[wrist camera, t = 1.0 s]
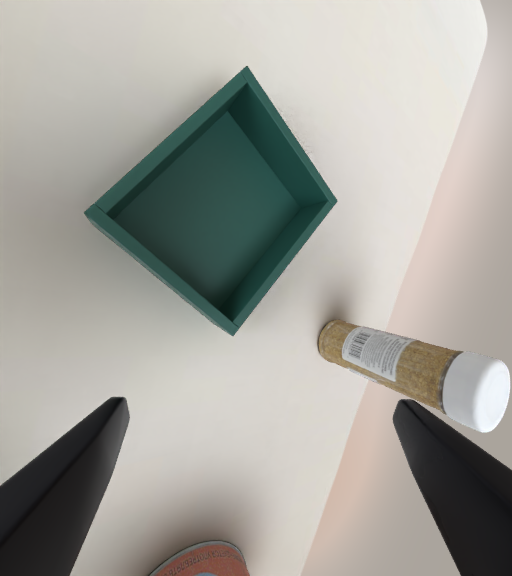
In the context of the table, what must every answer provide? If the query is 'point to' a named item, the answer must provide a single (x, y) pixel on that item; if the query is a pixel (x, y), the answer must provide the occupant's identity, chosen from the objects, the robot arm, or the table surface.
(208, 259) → the tray
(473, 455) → the robot arm
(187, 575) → the canned food
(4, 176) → the table surface
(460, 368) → the sprinkles bottle
